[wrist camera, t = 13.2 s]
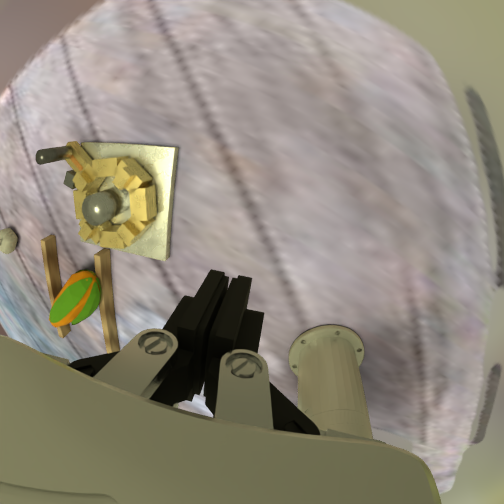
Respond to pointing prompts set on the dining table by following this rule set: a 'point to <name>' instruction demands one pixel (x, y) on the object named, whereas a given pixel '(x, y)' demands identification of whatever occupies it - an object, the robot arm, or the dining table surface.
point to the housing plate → (118, 202)
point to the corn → (76, 299)
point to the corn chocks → (105, 282)
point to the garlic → (7, 241)
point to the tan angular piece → (125, 178)
